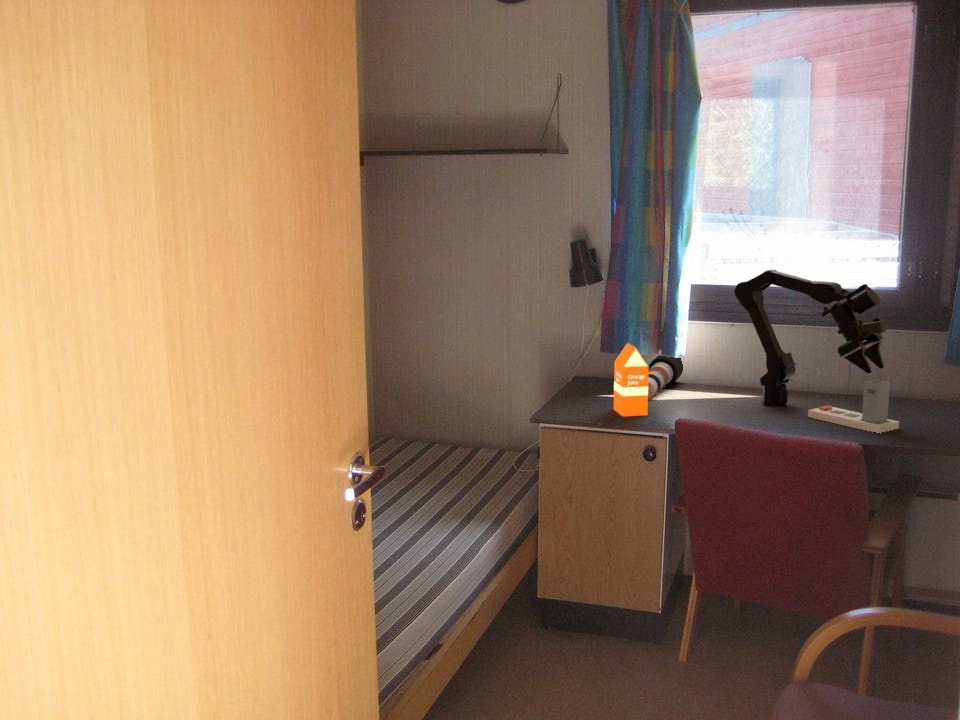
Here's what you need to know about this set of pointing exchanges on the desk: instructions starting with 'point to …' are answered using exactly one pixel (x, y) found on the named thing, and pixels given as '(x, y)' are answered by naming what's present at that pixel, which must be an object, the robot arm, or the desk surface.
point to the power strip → (850, 419)
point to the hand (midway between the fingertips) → (876, 370)
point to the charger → (875, 401)
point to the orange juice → (630, 383)
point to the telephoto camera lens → (663, 373)
